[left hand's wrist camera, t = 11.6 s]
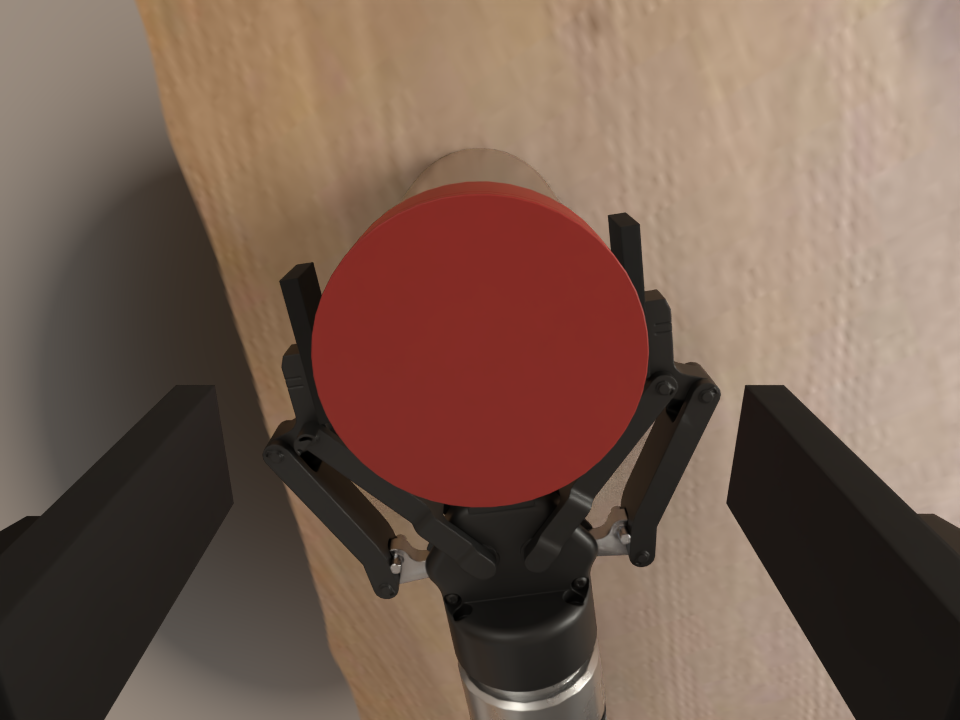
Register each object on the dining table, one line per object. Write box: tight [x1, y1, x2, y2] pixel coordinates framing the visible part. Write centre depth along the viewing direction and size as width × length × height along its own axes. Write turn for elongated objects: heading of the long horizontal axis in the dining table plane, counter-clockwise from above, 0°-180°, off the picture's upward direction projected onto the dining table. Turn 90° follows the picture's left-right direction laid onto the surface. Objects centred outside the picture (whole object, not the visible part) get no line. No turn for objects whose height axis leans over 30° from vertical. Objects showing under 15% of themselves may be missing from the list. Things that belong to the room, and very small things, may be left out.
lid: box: [311, 181, 649, 507], centre depth 19 cm, size 9×9×2 cm
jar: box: [399, 148, 561, 204], centre depth 26 cm, size 8×8×17 cm
